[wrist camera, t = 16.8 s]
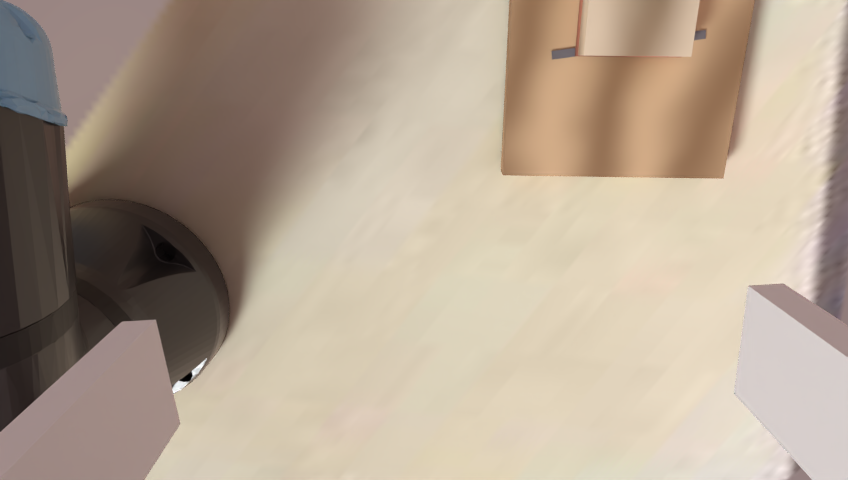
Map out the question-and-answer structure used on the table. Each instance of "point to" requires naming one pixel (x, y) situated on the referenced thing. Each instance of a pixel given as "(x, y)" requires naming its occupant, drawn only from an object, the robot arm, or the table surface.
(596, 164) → the board
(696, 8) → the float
